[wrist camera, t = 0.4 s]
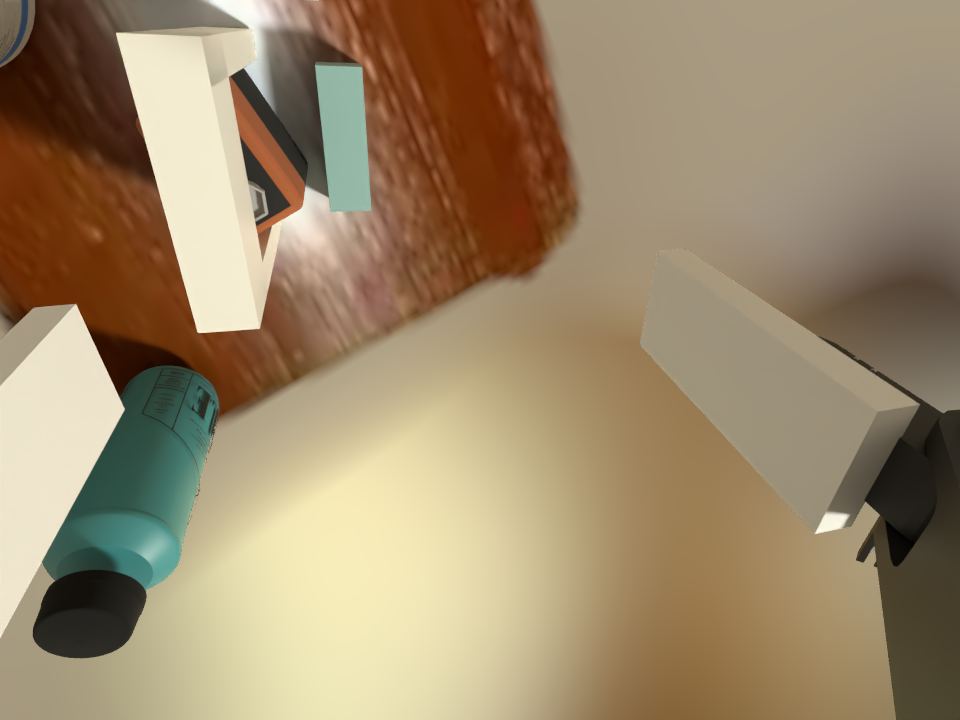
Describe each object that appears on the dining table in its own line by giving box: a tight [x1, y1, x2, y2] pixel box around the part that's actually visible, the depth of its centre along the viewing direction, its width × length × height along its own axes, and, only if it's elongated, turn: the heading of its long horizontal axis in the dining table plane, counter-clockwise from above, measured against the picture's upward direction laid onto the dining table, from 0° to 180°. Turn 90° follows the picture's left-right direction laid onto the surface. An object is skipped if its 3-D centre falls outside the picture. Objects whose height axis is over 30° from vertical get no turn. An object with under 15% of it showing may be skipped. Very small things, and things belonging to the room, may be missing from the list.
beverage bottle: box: [33, 365, 220, 658], centre depth 32 cm, size 6×7×20 cm
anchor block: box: [315, 62, 371, 212], centre depth 32 cm, size 2×8×3 cm, turn 177°
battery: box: [136, 68, 308, 234], centre depth 28 cm, size 4×7×10 cm, turn 26°
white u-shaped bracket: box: [116, 27, 282, 333], centre depth 26 cm, size 2×11×15 cm, turn 177°
